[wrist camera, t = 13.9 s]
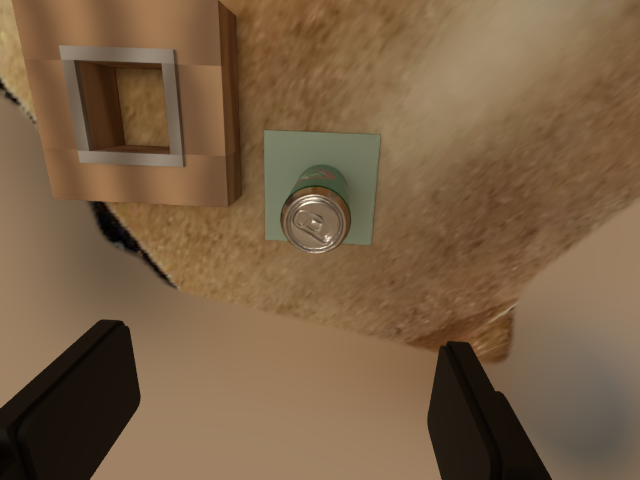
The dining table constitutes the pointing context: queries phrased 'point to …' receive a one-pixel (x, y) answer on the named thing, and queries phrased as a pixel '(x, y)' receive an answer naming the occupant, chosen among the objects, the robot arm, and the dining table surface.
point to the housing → (103, 102)
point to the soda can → (317, 211)
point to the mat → (321, 149)
